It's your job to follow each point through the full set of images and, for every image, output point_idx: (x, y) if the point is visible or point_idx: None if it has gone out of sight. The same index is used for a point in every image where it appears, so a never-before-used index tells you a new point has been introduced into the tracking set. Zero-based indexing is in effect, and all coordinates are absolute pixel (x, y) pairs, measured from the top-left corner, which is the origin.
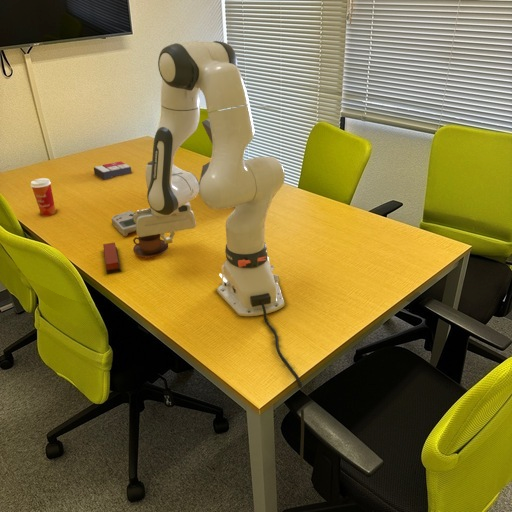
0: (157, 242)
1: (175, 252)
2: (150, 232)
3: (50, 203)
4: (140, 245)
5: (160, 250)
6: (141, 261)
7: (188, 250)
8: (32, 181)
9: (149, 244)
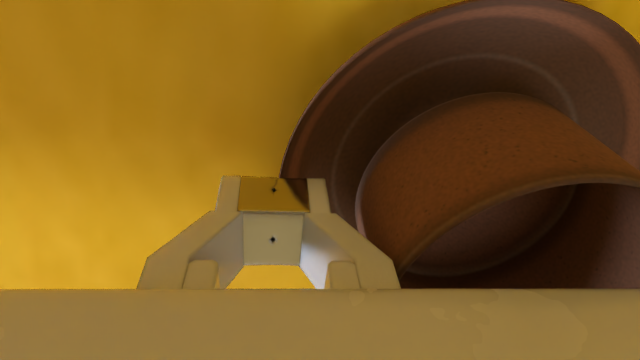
0: (456, 168)
1: (219, 60)
2: (632, 338)
3: None
4: (625, 208)
5: (368, 150)
6: (625, 19)
7: (50, 42)
8: None
9: (591, 147)
